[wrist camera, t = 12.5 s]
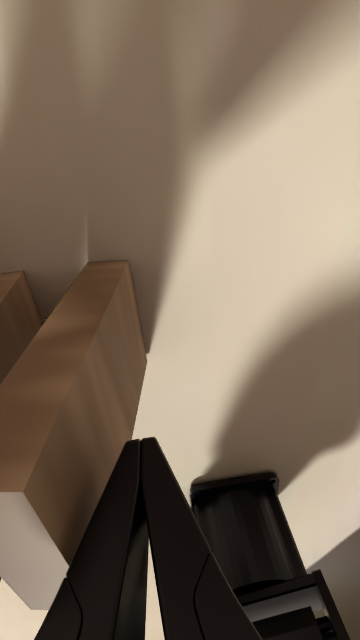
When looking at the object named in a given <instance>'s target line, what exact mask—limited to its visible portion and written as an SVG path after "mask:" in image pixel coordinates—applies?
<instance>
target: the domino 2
mask: <svg viewBox="0 0 360 640" xmlns="http://www.w3.org/2000/svg"><path fill="white" fill-rule="evenodd" d="M146 365H147V358H146V353H145V347H144V342H143V336H142V331H141V325H140V320H139V314H138V309H137V303H136V298H135V292H134V287H133V281H132V276H131V270H130V265H129V260H122V261H106V262H91V263H87V264H86V266H85V267H84V268H83V270H82V271H81V272H80V274H79V275H78V277H77V278H76V279H75V281H74V282H73V284H72V285H71V286H70V288H69V289H68V291H67V292H66V293H65V295H64V296H63V298H62V299H61V300H60V302H59V303H58V305H57V306H56V307H55V309H54V310H53V312H52V313H51V314H50V316H49V317H48V319H47V320H46V321H45V323H44V324H43V326H42V327H41V328H40V330H39V331H38V333H37V334H36V335H35V337H34V338H33V340H32V341H31V342H30V344H29V345H28V347H27V348H26V349H25V351H24V352H23V353H22V355H21V356H20V358H19V359H18V360H17V362H16V363H15V365H14V366H13V367H12V369H11V370H10V372H9V373H8V374H7V376H6V377H5V379H4V380H3V381H2V383H1V384H0V577H1V578H2V579H3V580H4V581H5V582H6V583H7V584H8V585H9V586H10V587H11V588H12V590H13V591H14V592H15V593H16V594H17V595H18V596H19V597H20V598H21V599H22V600H23V602H24V603H25V604H26V605H27V606H28V607H29V608H30V609H31V610H49V609H50V607H51V605H52V603H53V601H54V599H55V596H56V594H57V592H58V590H59V588H60V585H61V583H62V581H63V579H64V578H65V577H66V572H67V570H68V568H69V566H70V564H71V561H72V559H73V557H74V555H75V553H76V550H77V548H78V546H79V544H80V542H81V539H82V537H83V535H84V533H85V531H86V528H87V526H88V524H89V522H90V519H91V517H92V515H93V513H94V511H95V508H96V506H97V504H98V502H99V500H100V497H101V495H102V493H103V491H104V489H105V486H106V484H107V482H108V480H109V478H110V475H111V473H112V471H113V469H114V466H115V464H116V462H117V460H118V458H119V455H120V453H121V451H122V449H123V447H124V444H125V443H126V442H127V441H129V440H132V435H133V430H134V425H135V420H136V415H137V410H138V405H139V400H140V395H141V390H142V385H143V380H144V375H145V370H146ZM66 578H67V577H66Z"/></svg>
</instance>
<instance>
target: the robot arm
mask: <svg viewBox="0 0 360 640" xmlns="http://www.w3.org/2000/svg"><path fill="white" fill-rule="evenodd" d="M278 484H279V479H278V477H277V474H276V473H267V474H261V475H255V476H249V477H243V478H237V479H231V480H225V481H218V482H212V483H206V484H200V485H195V486H193V487H191V488H190V495H191V503H192V507H191V508H190V506H189V504H188V502H187V500H186V498H185V496H184V494H183V492H182V490H181V488H180V486H179V484H178V482H177V480H176V478H175V475H174V473H173V471H172V469H171V467H170V465H169V463H168V461H167V459H166V457H165V455H164V453H163V451H162V449H161V447H160V445H159V443H158V441H157V439H156V438H155V437H149V438H143V439H142V440H140V439H135V440H129V441H127V442H126V443H125V444H124V447H123V449H122V451H121V453H120V455H119V458H118V460H117V462H116V464H115V466H114V469H113V471H112V473H111V475H110V478H109V480H108V482H107V484H106V486H105V489H104V491H103V493H102V495H101V497H100V500H99V502H98V504H97V506H96V508H95V511H94V513H93V515H92V517H91V519H90V522H89V524H88V526H87V528H86V531H85V533H84V535H83V537H82V539H81V542H80V544H79V546H78V548H77V550H76V553H75V555H74V557H73V559H72V561H71V564H70V566H69V568H68V570H67V572H66V577H67V578H66V577H65V578H64V579H63V581H62V583H61V585H60V588H59V590H58V592H57V594H56V596H55V599H54V601H53V603H52V605H51V607H50V609H49V611H48V613H47V615H46V617H45V619H44V621H43V623H42V626H41V627H40V629H39V631H38V633H37V635H36V637H35V639H34V640H145V621H146V596H147V571H148V546H149V541H150V548H151V554H152V560H153V567H154V573H155V580H156V586H157V593H158V599H159V606H160V612H161V618H162V625H163V631H164V638H165V640H350V638H349V636H348V633H347V631H346V629H345V627H344V624H343V622H342V619H341V617H340V615H339V612H338V610H337V608H336V605H335V603H334V601H333V598H332V596H331V594H330V591H329V589H328V587H327V584H326V582H325V580H324V577H323V575H322V573H321V570H320V569H318V570H314V571H312V573H311V574H307V573H306V570H305V567H304V565H303V562H302V559H301V557H300V554H299V551H298V549H297V546H296V543H295V541H294V538H293V535H292V533H291V530H290V528H289V525H288V522H287V520H286V517H285V514H284V512H283V509H282V506H281V504H280V501H279V498H278V496H277V491H278ZM323 609H324V611H325V613H326V616H324V617H321V618H317V619H315V616H314V613H313V612H315V611H319V610H323Z"/></svg>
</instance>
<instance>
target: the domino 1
mask: <svg viewBox="0 0 360 640" xmlns="http://www.w3.org/2000/svg"><path fill="white" fill-rule="evenodd" d="M42 326H43V321H42V319H41V316H40V313H39V311H38V308H37V305H36V303H35V300H34V297H33V295H32V292H31V289H30V287H29V284H28V281H27V278H26V276H25V273H24V271H17V272H10V273H2V274H0V384H1V383H2V381H3V380H4V379H5V377H6V376H7V374H8V373H9V372H10V370H11V369H12V367H13V366H14V365H15V363H16V362H17V360H18V359H19V358H20V356H21V355H22V353H23V352H24V351H25V349H26V348H27V347H28V345H29V344H30V342H31V341H32V340H33V338H34V337H35V335H36V334H37V333H38V331H39V330H40V328H41V327H42ZM0 581H1V577H0Z"/></svg>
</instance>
